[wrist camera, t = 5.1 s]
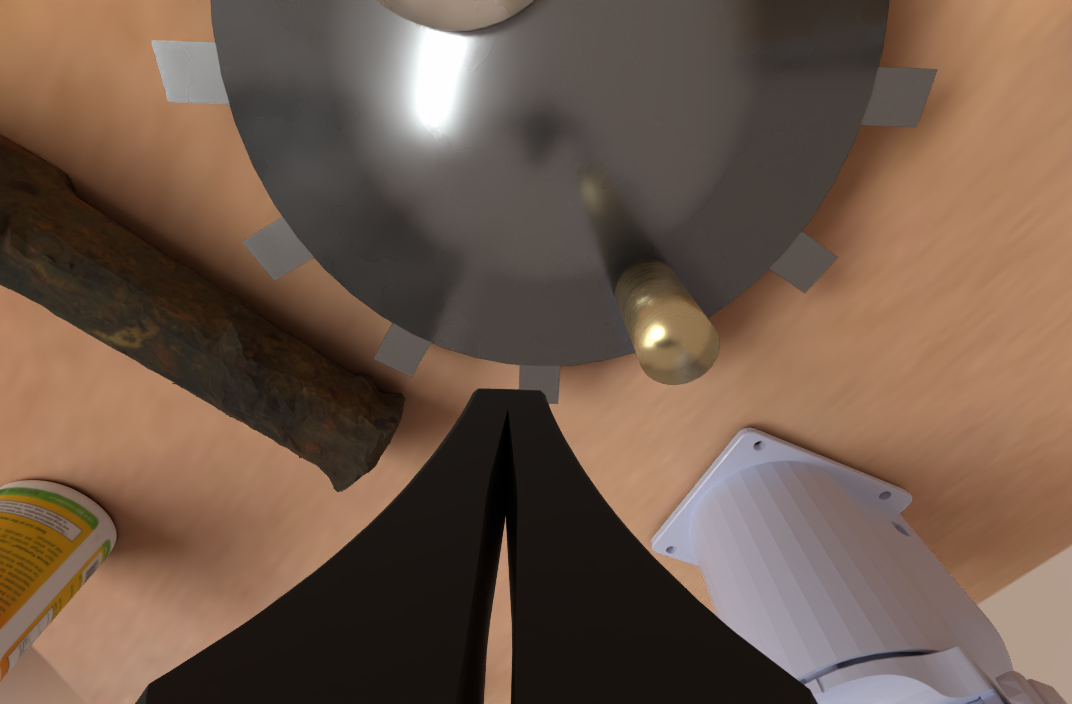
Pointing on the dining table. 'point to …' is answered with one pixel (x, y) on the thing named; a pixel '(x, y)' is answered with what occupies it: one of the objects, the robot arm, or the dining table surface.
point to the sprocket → (547, 160)
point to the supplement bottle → (44, 557)
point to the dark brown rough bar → (183, 324)
